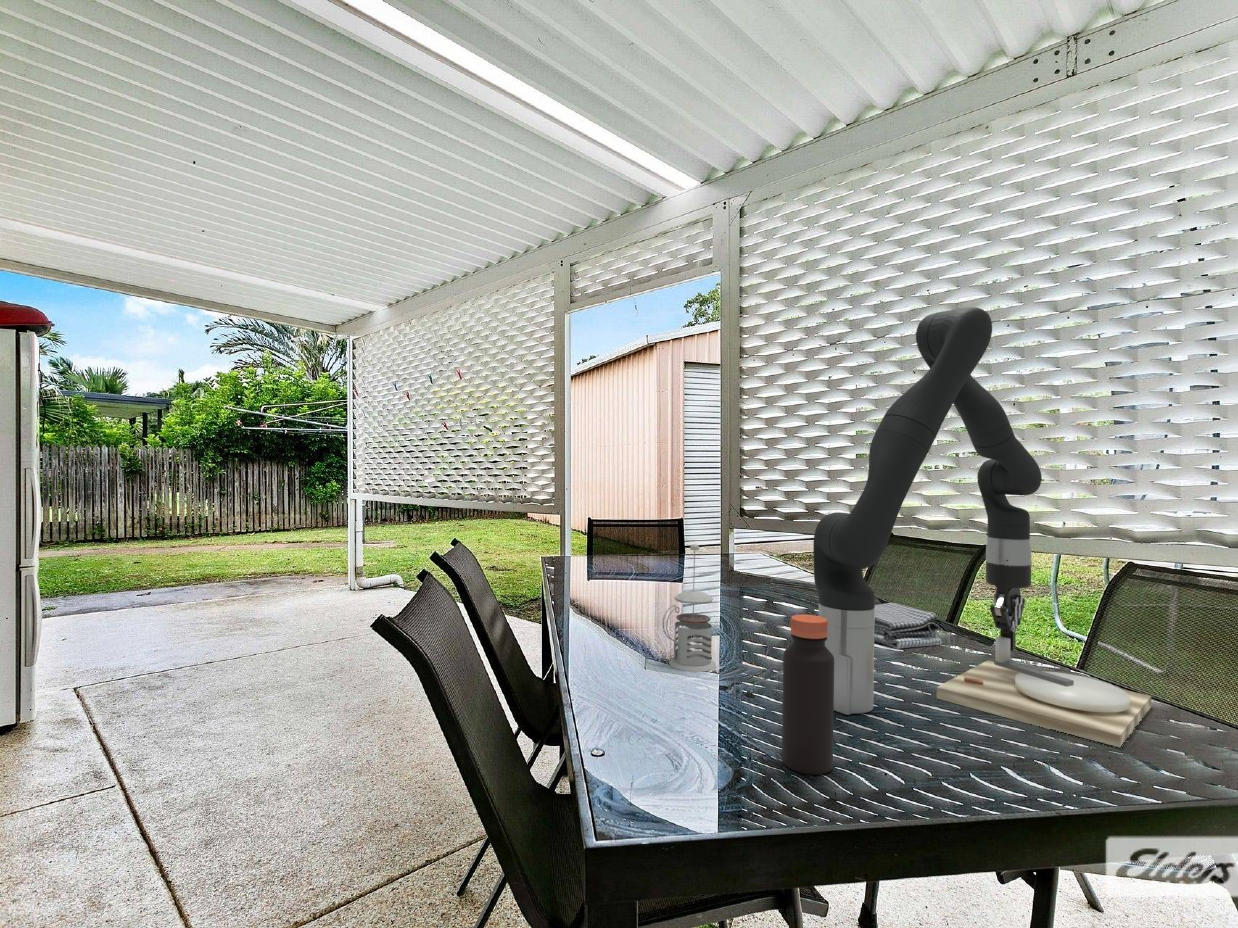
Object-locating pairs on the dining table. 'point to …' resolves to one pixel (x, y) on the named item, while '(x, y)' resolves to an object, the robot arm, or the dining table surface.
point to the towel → (904, 626)
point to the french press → (692, 632)
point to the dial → (1062, 686)
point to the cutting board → (1039, 705)
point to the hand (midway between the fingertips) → (1007, 649)
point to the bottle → (808, 698)
